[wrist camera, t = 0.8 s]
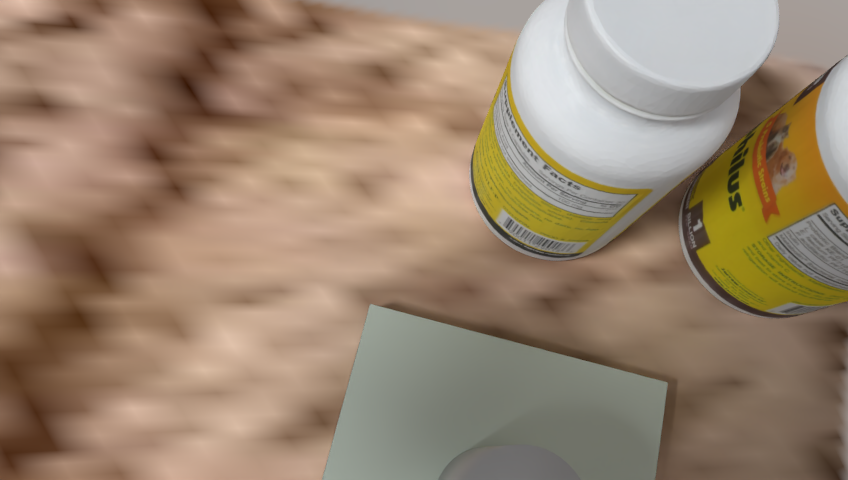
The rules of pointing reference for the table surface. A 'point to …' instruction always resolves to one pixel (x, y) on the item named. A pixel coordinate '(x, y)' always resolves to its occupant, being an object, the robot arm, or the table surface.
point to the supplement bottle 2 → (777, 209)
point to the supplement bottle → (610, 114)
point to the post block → (488, 410)
